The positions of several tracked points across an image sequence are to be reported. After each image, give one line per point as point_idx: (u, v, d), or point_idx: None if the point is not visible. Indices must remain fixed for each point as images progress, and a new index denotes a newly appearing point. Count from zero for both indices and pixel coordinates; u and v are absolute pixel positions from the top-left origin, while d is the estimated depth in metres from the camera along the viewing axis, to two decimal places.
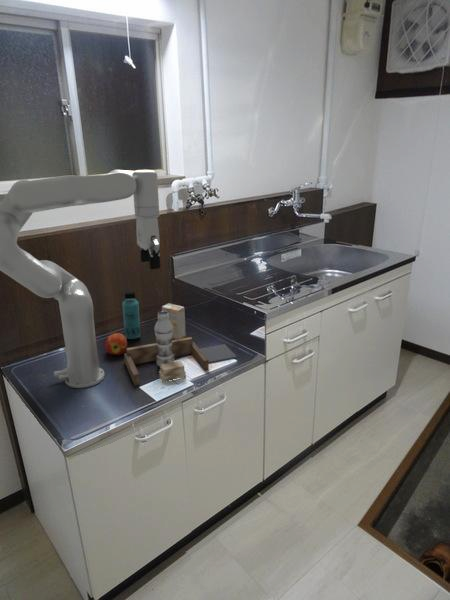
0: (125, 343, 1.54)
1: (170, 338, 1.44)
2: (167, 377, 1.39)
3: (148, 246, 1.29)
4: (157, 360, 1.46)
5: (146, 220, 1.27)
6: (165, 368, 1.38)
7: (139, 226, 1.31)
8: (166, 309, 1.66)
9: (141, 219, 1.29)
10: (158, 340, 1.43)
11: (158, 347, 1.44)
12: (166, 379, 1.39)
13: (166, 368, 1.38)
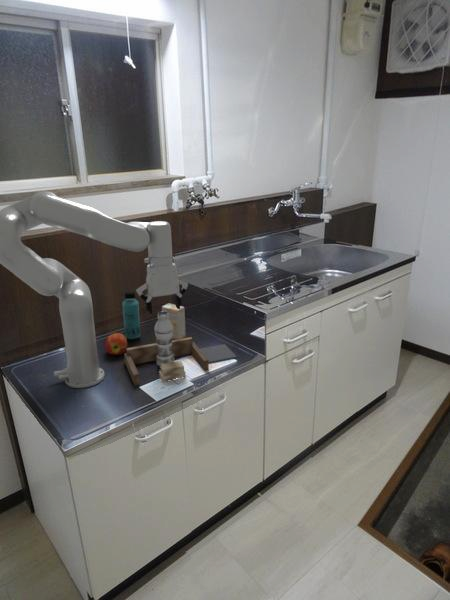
0: (125, 343, 1.54)
1: (170, 338, 1.44)
2: (167, 377, 1.39)
3: None
4: (157, 360, 1.46)
5: (175, 266, 1.37)
6: (164, 368, 1.38)
7: (165, 275, 1.35)
8: (166, 309, 1.66)
9: (170, 267, 1.35)
10: (158, 340, 1.43)
11: (158, 347, 1.44)
12: (166, 379, 1.39)
13: (165, 368, 1.38)
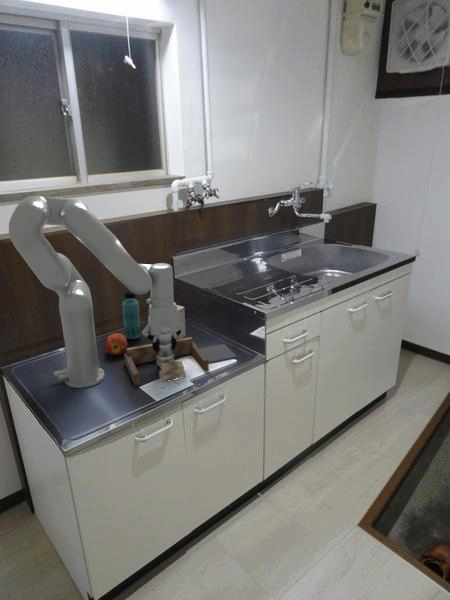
0: (125, 343, 1.54)
1: (170, 338, 1.44)
2: (167, 377, 1.39)
3: None
4: (157, 360, 1.46)
5: (176, 305, 1.41)
6: (164, 367, 1.38)
7: (166, 315, 1.40)
8: None
9: (171, 307, 1.40)
10: (158, 340, 1.43)
11: (158, 347, 1.44)
12: (166, 379, 1.39)
13: (165, 367, 1.38)
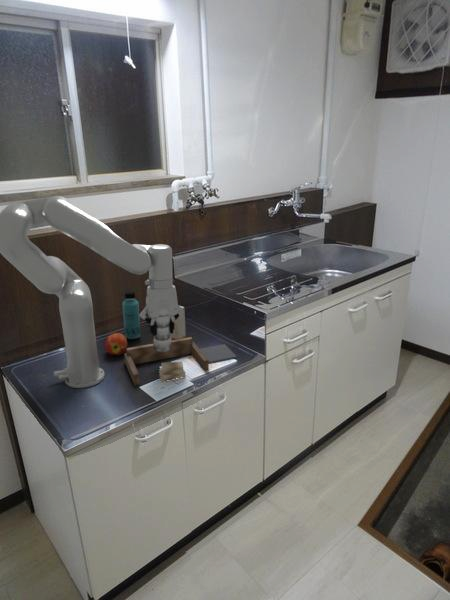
0: (125, 343, 1.54)
1: (168, 321, 1.41)
2: (167, 377, 1.39)
3: None
4: (154, 344, 1.43)
5: (175, 288, 1.39)
6: (164, 367, 1.38)
7: (164, 297, 1.37)
8: None
9: (170, 289, 1.37)
10: (156, 323, 1.41)
11: (156, 330, 1.42)
12: (166, 379, 1.39)
13: (164, 367, 1.38)
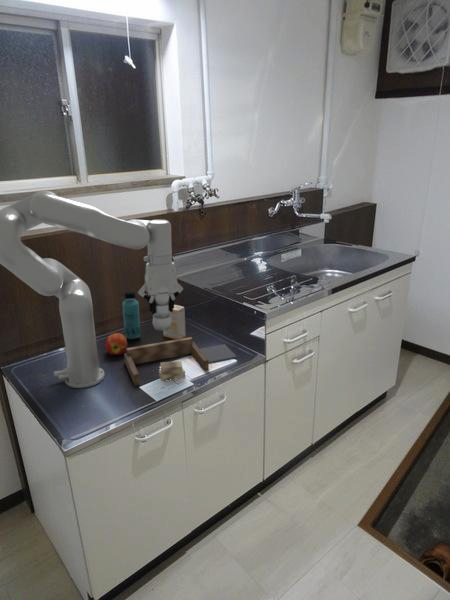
0: (125, 343, 1.54)
1: (167, 299, 1.39)
2: (167, 376, 1.39)
3: None
4: (154, 322, 1.41)
5: (174, 265, 1.36)
6: (163, 366, 1.39)
7: (164, 274, 1.35)
8: None
9: (169, 266, 1.35)
10: (155, 301, 1.38)
11: (155, 308, 1.39)
12: (166, 378, 1.39)
13: (163, 367, 1.39)
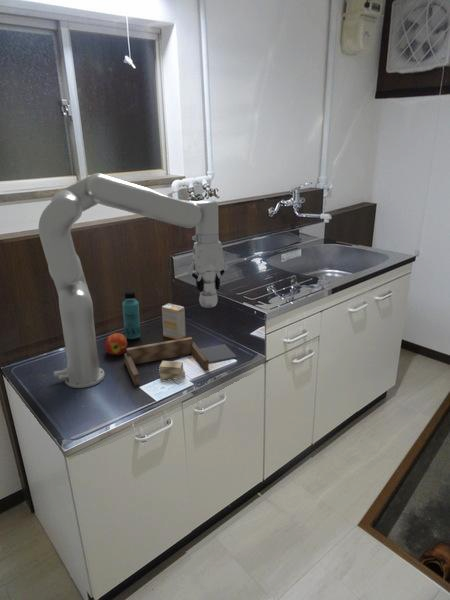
0: (125, 343, 1.54)
1: (214, 277, 1.44)
2: (166, 376, 1.39)
3: None
4: (201, 300, 1.46)
5: None
6: (162, 365, 1.40)
7: (211, 252, 1.40)
8: (166, 309, 1.66)
9: (216, 244, 1.40)
10: (202, 279, 1.43)
11: (202, 286, 1.44)
12: (165, 378, 1.39)
13: (163, 365, 1.40)
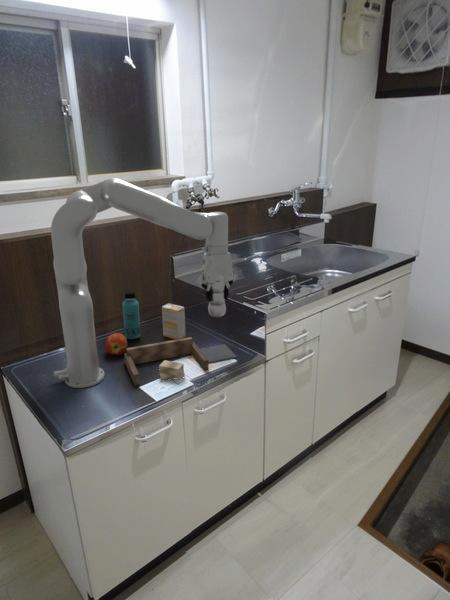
0: (125, 343, 1.54)
1: (223, 287, 1.47)
2: (165, 376, 1.39)
3: None
4: (210, 309, 1.49)
5: (230, 254, 1.44)
6: (162, 364, 1.40)
7: (221, 263, 1.43)
8: (166, 309, 1.66)
9: (225, 255, 1.43)
10: (212, 288, 1.46)
11: (211, 296, 1.47)
12: (164, 378, 1.39)
13: (162, 365, 1.40)
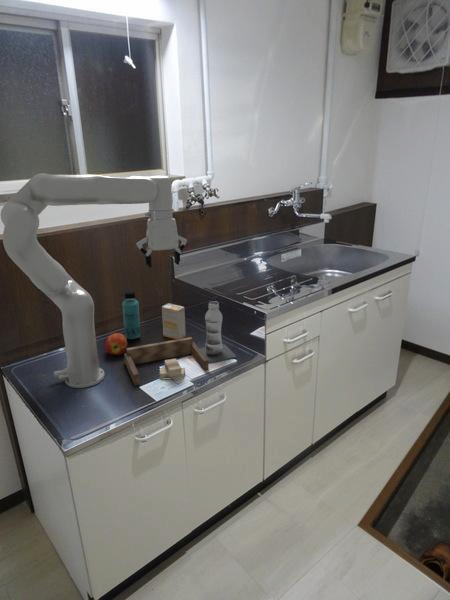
0: (125, 343, 1.54)
1: (220, 327, 1.51)
2: (164, 375, 1.40)
3: None
4: (207, 348, 1.53)
5: None
6: (167, 361, 1.43)
7: (165, 229, 1.38)
8: (166, 309, 1.66)
9: (170, 221, 1.38)
10: (209, 329, 1.50)
11: (208, 335, 1.52)
12: (163, 377, 1.40)
13: (167, 361, 1.42)
